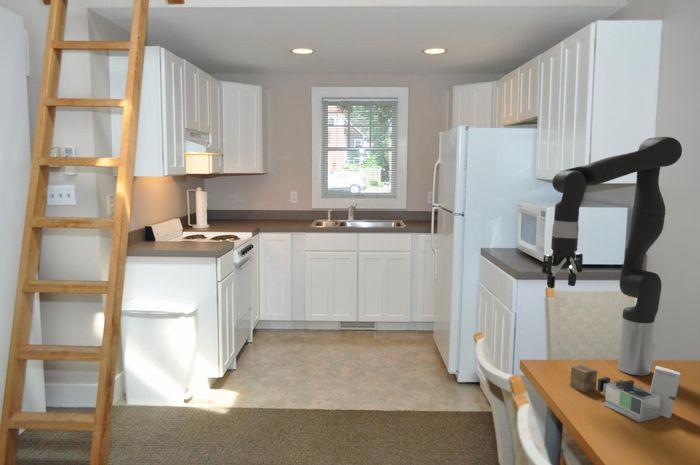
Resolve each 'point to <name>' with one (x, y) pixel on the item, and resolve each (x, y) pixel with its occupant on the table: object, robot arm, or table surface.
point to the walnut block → (583, 378)
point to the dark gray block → (628, 385)
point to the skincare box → (665, 389)
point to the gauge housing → (633, 402)
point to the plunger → (604, 381)
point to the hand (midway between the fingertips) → (561, 286)
